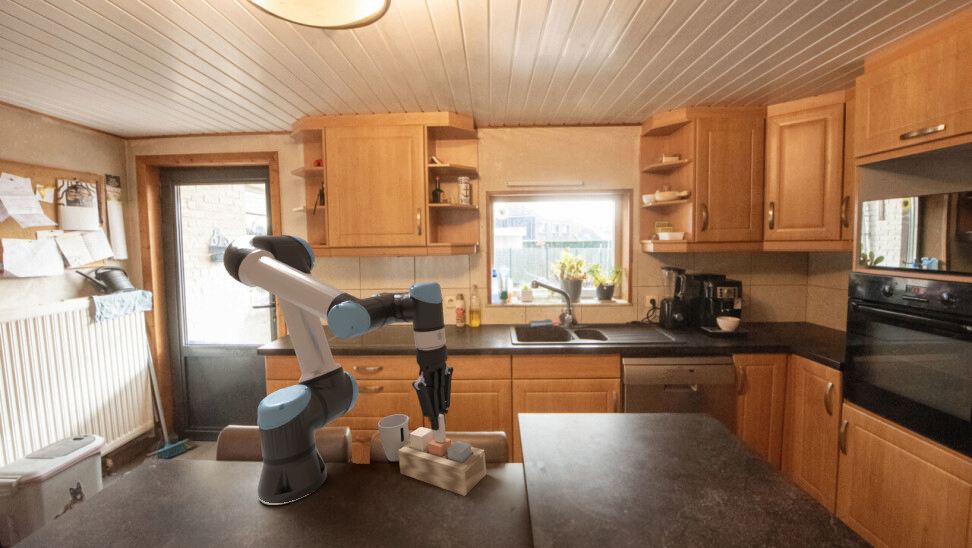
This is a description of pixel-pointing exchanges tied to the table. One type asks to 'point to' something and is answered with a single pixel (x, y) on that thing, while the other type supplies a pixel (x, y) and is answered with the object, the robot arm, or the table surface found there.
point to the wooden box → (443, 469)
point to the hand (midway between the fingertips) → (439, 440)
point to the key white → (421, 439)
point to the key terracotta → (439, 447)
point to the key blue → (459, 452)
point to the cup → (394, 434)
